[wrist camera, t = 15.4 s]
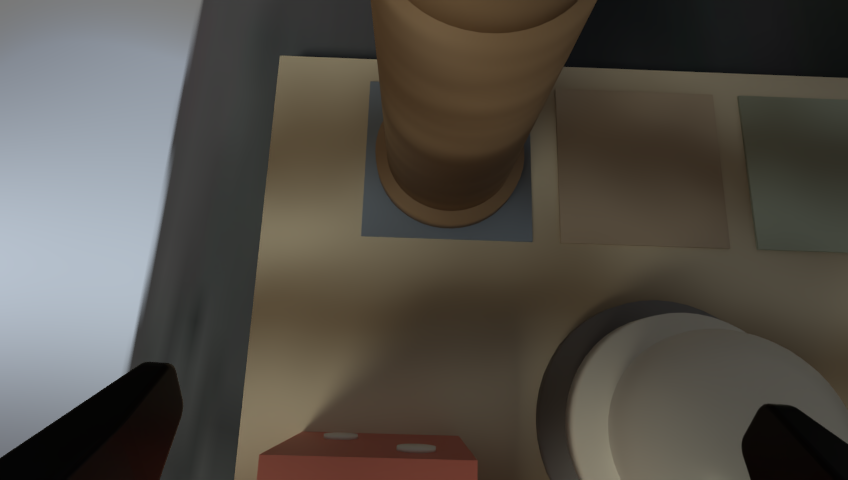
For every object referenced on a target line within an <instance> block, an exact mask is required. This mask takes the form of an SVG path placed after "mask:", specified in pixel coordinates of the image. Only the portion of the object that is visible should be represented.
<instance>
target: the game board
mask: <svg viewBox="0 0 848 480" xmlns="http://www.w3.org/2000/svg"><path fill="white" fill-rule="evenodd" d="M382 122H383V112H382V102H381V93H380V83H379V74H378V64H377V59H352V58H326V57H301V56H280V61H279V70H278V79H277V88H276V98H275V107H274V116H273V125H272V135H271V144H270V153H269V162H268V172H267V181H266V190H265V200H264V209H263V218H262V227H261V237H260V246H259V255H258V264H257V274H256V283H255V292H254V301H253V311H252V320H251V329H250V338H249V348H248V357H247V366H246V375H245V385H244V394H243V403H242V412H241V422H240V431H239V440H238V450H237V459H236V468H235V477H234V480H257V471H258V461H259V454H261V453H263V452H265V451H267V450H269V449H271V448H272V447H274V446H276V445H278V444H280V443H282V442H284V441H286V440H287V439H289V438H291V437H293V436H295V435H297V434H299V433H301V432H302V431H304V432H346V433H375V434H411V435H446V436H459V437H460V438H461V440H462V441H463V442H464V443H465V445H466V446H467V447H468V449H469V450H470V451H471V453H472V454H473V455H474V456H475V458H476V459H477V460H478V480H579V479H578V477H577V474H576V472H575V469H574V467H573V464H572V461H571V458H570V454H569V449H568V445H567V438H566V428H565V420H566V406H567V399H568V394H569V391H570V387H571V384H572V381H573V379H574V376H575V374H576V372H577V369H578V368H579V366H580V364H581V363H582V361H583V359H584V358H585V356H586V355H587V354H588V353H589V351H590V350H591V349H592V348H593V347H594V345H596V344H597V343H598V342H599V341H600V340H601V339H602V338H603V337H604V336H606V335H607V334H609V333H610V332H612V331H613V330H615V329H617V328H619V327H621V326H623V325H625V324H627V323H630V322H633V321H636V320H639V319H642V318H647V317H651V316H655V315H661V314H667V313H692V314H700V315H705V316H709V317H713V318H716V319H719V320H721V321H724V322H727V323H729V324H731V325H733V326H735V327H737V328H739V329H741V330H743V331H744V332H746V333H748V334H752V335H756V336H759V337H761V338H764V339H767V340H769V341H772V342H774V343H776V344H778V345H780V346H782V347H784V348H786V349H788V350H790V351H791V352H793V353H794V354H796V355H797V356H799V357H800V358H802V359H803V360H804V361H805V362H807V363H808V364H809V365H810V366H812V367H813V368H814V369H815V370H816V371H818V372H819V373H820V374H821V375H822V376H823V377H824V378H825V380H826V381H827V382H828V383H829V384H830V385H831V387H832V388H833V389H834V390H835V392H836V393H837V394H838V396H839V397H840V398H841V400H842V402H843V403H844V405H845V407H846V408H847V410H848V78H833V77H808V76H782V75H757V74H732V73H706V72H681V71H656V70H630V69H605V68H580V67H563V69H562V71H561V73H560V75H559V77H558V79H557V81H556V83H555V85H554V87H553V89H552V91H551V93H550V95H549V96H548V98H547V100H546V102H545V104H544V106H543V108H542V110H541V112H540V114H539V116H538V118H537V120H536V122H535V124H534V126H533V128H532V130H531V132H530V134H529V136H528V138H527V140H526V142H525V144H524V165H523V170H522V173H521V177H520V179H519V181H518V183H517V186H516V187H515V189H514V191H513V193H512V194H511V196H510V197H509V199H508V200H507V202H506V203H505V204H504V205H503V206H502V207H501V208H500V209H499V210H498V211H497V212H496V213H495V214H493V215H492V216H490V217H489V218H487V219H485V220H483V221H481V222H479V223H477V224H474V225H471V226H467V227H462V228H452V229H449V228H438V227H432V226H429V225H426V224H422V223H420V222H418V221H416V220H414V219H412V218H410V217H409V216H407V215H406V214H404V213H403V212H402V211H401V210H400V209H398V208H397V207H396V206H395V204H394V203H393V202H392V201H391V200H390V198H389V197H388V196H387V194H386V192H385V190H384V189H383V187H382V184H381V181H380V179H379V175H378V170H377V164H376V154H375V148H376V139H377V135H378V131H379V129H380V126H381V124H382Z"/></svg>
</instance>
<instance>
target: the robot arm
mask: <svg viewBox="0 0 848 480" xmlns="http://www.w3.org/2000/svg"><path fill="white" fill-rule="evenodd" d="M182 411H183V399H182V395H181V390H180V386H179V382H178V378H177V374H176V370H175V368H174V366H173V365H172V364H169V363H159V362H145V363H142V364H140V365H138V366H137V367H135V368H134V369H132V370H131V371H129V372H128V373H126V374H125V375H123V376H122V377H120V378H119V379H118V380H116V381H114V382H113V383H111V384H110V385H109V386H107V387H106V388H104V389H103V390H101V391H100V392H98V393H97V394H95V395H94V396H92V397H91V398H89V399H88V400H86V401H85V402H83V403H82V404H80V405H79V406H77V407H76V408H74V409H73V410H71V411H70V412H68V413H67V414H65V415H64V416H62V417H61V418H59V419H58V420H56V421H55V422H53V423H52V424H50V425H49V426H47V427H46V428H44V429H43V430H42V431H40V432H38V433H37V434H35V435H34V436H33V437H31V438H30V439H28V440H26V441H25V442H24V443H22V444H20V445H19V446H18V447H16V448H14V449H13V450H11V451H10V452H8V453H7V454H6V455H4V456H3V457H1V458H0V480H160V477H161V474H162V471H163V468H164V465H165V462H166V460H167V457H168V454H169V451H170V448H171V445H172V442H173V439H174V436H175V434H176V431H177V428H178V425H179V422H180V419H181V416H182ZM741 448H742V454H743V458H744V461H745V464H746V467H747V470H748V473H749V476H750V479H751V480H848V444H847V443H846V442H844V441H843V440H842V439H840V438H839V437H837V436H836V435H835V434H833V433H832V432H830V431H829V430H827V429H826V428H825V427H823V426H822V425H820V424H819V423H818V422H816V421H815V420H813V419H812V418H811V417H809V416H808V415H806V414H805V413H803V412H802V411H801V410H799V409H798V408H796V407H794V406H791V405H784V404H769V403H768V404H764V405H762V406H761V407H760V408H759V409H758V410H757V412H756V414H755V416H754V418H753V420H752V421H751V423H750V425H749V427H748V429H747V430H746V432H745V434H744V436H743V438H742V445H741Z"/></svg>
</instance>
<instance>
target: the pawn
mask: <svg viewBox="0 0 848 480" xmlns="http://www.w3.org/2000/svg"><path fill="white" fill-rule="evenodd" d="M596 2H597V0H371V6H372V16H373V26H374V35H375V45H376V54H377V64H378V74H379V83H380V93H381V102H382V112H383V122H382V124H381V126H380V129H379V131H378V135H377V139H376V148H375V154H376V164H377V170H378V175H379V179H380V181H381V184H382V187H383V189H384V190H385V192H386V194H387V196H388V197H389V198H390V200H391V201H392V202H393V203H394V204H395V206H396V207H397V208H398V209H400V210H401V211H402V212H403V213H404V214H406V215H407V216H409V217H410V218H412V219H414V220H416V221H418V222H420V223H422V224H426V225H429V226H432V227H438V228H449V229H452V228H462V227H467V226H471V225H474V224H477V223H479V222H481V221H483V220H485V219H487V218H489V217H490V216H492V215H493V214H495V213H496V212H497V211H498V210H499V209H500V208H501V207H502V206H503V205H504V204H505V203H506V202H507V200H508V199H509V197H510V196H511V194H512V193H513V191H514V189H515V187H516V186H517V183H518V181H519V179H520V177H521V173H522V170H523V165H524V144H525V142H526V140H527V138H528V136H529V134H530V132H531V130H532V128H533V126H534V124H535V122H536V120H537V118H538V116H539V114H540V112H541V110H542V108H543V106H544V104H545V102H546V100H547V98H548V96H549V95H550V93H551V91H552V89H553V87H554V85H555V83H556V81H557V79H558V77H559V75H560V73H561V71H562V69H563V67H564V65H565V63H566V61H567V59H568V57H569V55H570V53H571V51H572V49H573V47H574V45H575V43H576V41H577V39H578V37H579V35H580V33H581V31H582V29H583V27H584V25H585V23H586V21H587V19H588V17H589V15H590V13H591V11H592V9H593V8H594V6H595V4H596Z"/></svg>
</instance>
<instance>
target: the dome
mask: <svg viewBox="0 0 848 480" xmlns="http://www.w3.org/2000/svg"><path fill="white" fill-rule="evenodd" d="M768 403H769V404H784V405H791V406H794V407H796V408H798V409H799V410H801V411H802V412H803V413H805V414H806V415H808V416H809V417H811V418H812V419H813V420H815V421H816V422H818V423H819V424H820V425H822V426H823V427H825V428H826V429H827V430H829V431H830V432H832V433H833V434H835V435H836V436H837V437H839V438H840V439H842V440H843V441H844V442H846V443H847V444H848V410H847V408H846V407H845V405H844V403H843V402H842V400H841V398H840V397H839V396H838V394H837V393H836V392H835V390H834V389H833V388H832V387H831V385H830V384H829V383H828V382H827V381H826V380H825V378H824V377H823V376H822V375H821V374H820V373H819V372H818V371H816V370H815V369H814V368H813V367H812V366H810V365H809V364H808V363H807V362H805V361H804V360H803V359H802V358H800V357H799V356H797V355H796V354H794V353H793V352H791V351H790V350H788V349H786V348H784V347H782V346H780V345H778V344H776V343H774V342H772V341H769V340H767V339H764V338H761V337H759V336H756V335H752V334H748V333H746V332H744V331H743V330H741V329H739V328H737V327H735V326H733V325H731V324H729V323H727V322H724V321H721V320H719V319H716V318H713V317H709V316H705V315H700V314H692V313H667V314H661V315H655V316H651V317H647V318H642V319H639V320H636V321H633V322H630V323H627V324H625V325H623V326H621V327H619V328H617V329H615V330H613V331H612V332H610V333H609V334H607V335H606V336H604V337H603V338H602V339H601V340H600V341H599V342H598V343H597V344H596V345H594V347H593V348H592V349H591V350H590V351H589V353H588V354H587V355H586V356H585V358H584V359H583V361H582V363H581V364H580V366H579V368H578V369H577V372H576V374H575V376H574V379H573V381H572V384H571V387H570V391H569V394H568V399H567V406H566V420H565V428H566V438H567V445H568V449H569V454H570V458H571V461H572V464H573V467H574V469H575V472H576V474H577V477H578V479H579V480H751V479H750V476H749V473H748V470H747V467H746V464H745V461H744V458H743V454H742V448H741V445H742V438H743V436H744V434H745V432H746V430H747V429H748V427H749V425H750V423H751V421H752V420H753V418H754V416H755V414H756V412H757V410H758V409H759V408H760V407H761V406H762V405H764V404H768Z"/></svg>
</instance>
